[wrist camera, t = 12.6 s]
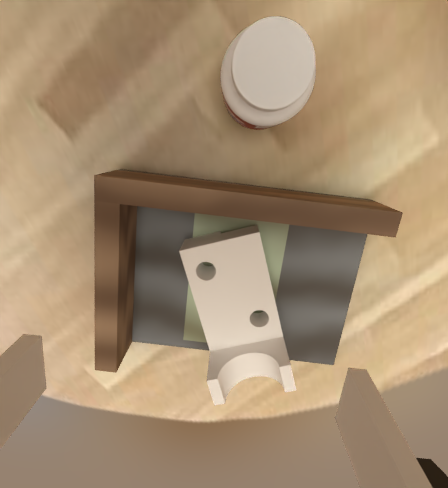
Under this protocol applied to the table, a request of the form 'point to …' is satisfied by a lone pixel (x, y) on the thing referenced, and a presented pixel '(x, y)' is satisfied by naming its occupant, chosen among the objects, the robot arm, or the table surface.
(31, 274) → the table surface
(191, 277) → the bracket
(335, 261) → the tray
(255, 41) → the pill bottle
